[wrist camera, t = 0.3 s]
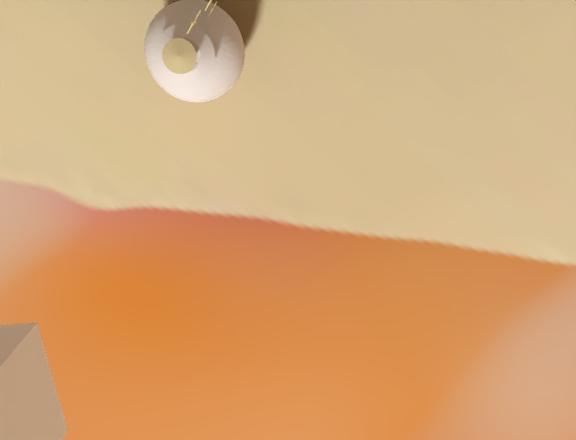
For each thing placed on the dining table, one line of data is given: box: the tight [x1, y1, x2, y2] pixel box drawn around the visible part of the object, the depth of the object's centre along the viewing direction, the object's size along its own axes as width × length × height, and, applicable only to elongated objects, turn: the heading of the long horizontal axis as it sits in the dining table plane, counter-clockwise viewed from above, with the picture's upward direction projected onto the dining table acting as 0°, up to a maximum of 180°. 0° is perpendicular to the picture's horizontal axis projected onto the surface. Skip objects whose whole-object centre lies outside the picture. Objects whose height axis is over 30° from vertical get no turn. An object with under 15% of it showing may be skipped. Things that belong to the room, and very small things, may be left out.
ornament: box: [145, 0, 245, 102], centre depth 30 cm, size 6×7×10 cm
